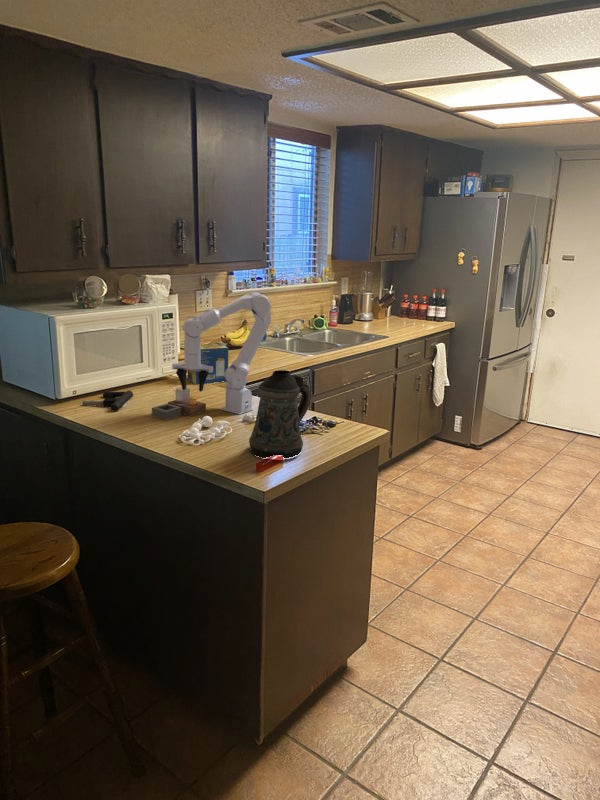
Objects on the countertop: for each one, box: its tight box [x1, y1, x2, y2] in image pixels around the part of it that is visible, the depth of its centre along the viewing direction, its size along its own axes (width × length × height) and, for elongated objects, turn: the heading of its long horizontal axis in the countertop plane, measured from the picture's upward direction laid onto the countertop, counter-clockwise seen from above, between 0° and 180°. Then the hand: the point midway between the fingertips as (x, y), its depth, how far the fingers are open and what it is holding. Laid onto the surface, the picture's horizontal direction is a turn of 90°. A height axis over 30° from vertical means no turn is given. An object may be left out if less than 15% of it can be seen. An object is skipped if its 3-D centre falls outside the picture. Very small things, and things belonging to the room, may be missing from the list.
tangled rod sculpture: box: [178, 415, 233, 446], centre depth 195 cm, size 19×14×4 cm
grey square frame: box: [151, 403, 182, 421], centre depth 214 cm, size 7×7×3 cm
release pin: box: [189, 396, 198, 406], centre depth 218 cm, size 3×3×3 cm
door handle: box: [82, 390, 135, 412], centre depth 225 cm, size 3×20×16 cm
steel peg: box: [175, 386, 191, 404], centre depth 221 cm, size 4×4×8 cm
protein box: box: [186, 342, 229, 385], centre depth 262 cm, size 10×15×16 cm
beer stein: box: [248, 369, 312, 458], centre depth 183 cm, size 16×19×25 cm
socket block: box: [167, 399, 207, 417], centre depth 220 cm, size 11×8×3 cm
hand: (192, 390), depth 217 cm, fingers open, 6 cm apart
